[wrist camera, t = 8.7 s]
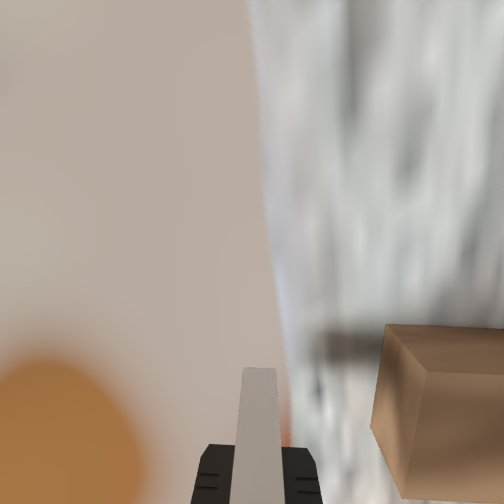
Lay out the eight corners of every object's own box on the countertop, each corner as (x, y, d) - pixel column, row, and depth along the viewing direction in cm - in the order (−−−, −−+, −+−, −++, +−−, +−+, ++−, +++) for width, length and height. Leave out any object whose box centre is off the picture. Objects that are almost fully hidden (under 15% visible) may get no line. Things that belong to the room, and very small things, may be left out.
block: (384, 322, 17) (427, 371, 12) (562, 329, 17) (669, 382, 12) (368, 423, 18) (401, 498, 14) (530, 431, 18) (615, 510, 14)
